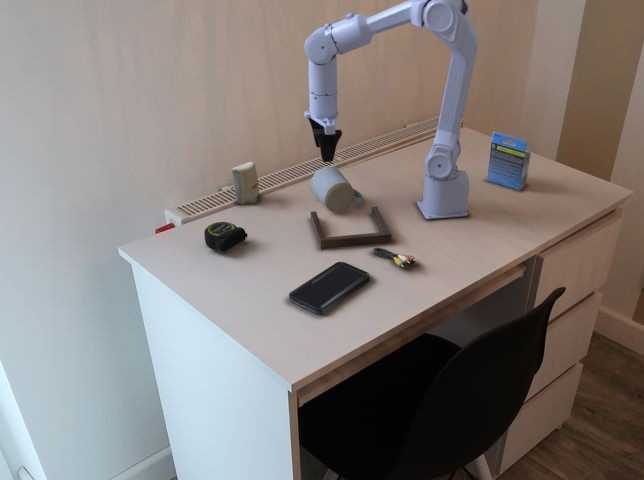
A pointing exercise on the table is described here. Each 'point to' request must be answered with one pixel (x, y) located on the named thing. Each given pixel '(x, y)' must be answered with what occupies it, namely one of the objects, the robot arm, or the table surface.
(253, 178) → the beige upright block
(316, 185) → the ceramic mug
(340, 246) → the frame
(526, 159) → the label tape box
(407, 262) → the composite cable
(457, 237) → the table surface
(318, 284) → the phone
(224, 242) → the tape measure
